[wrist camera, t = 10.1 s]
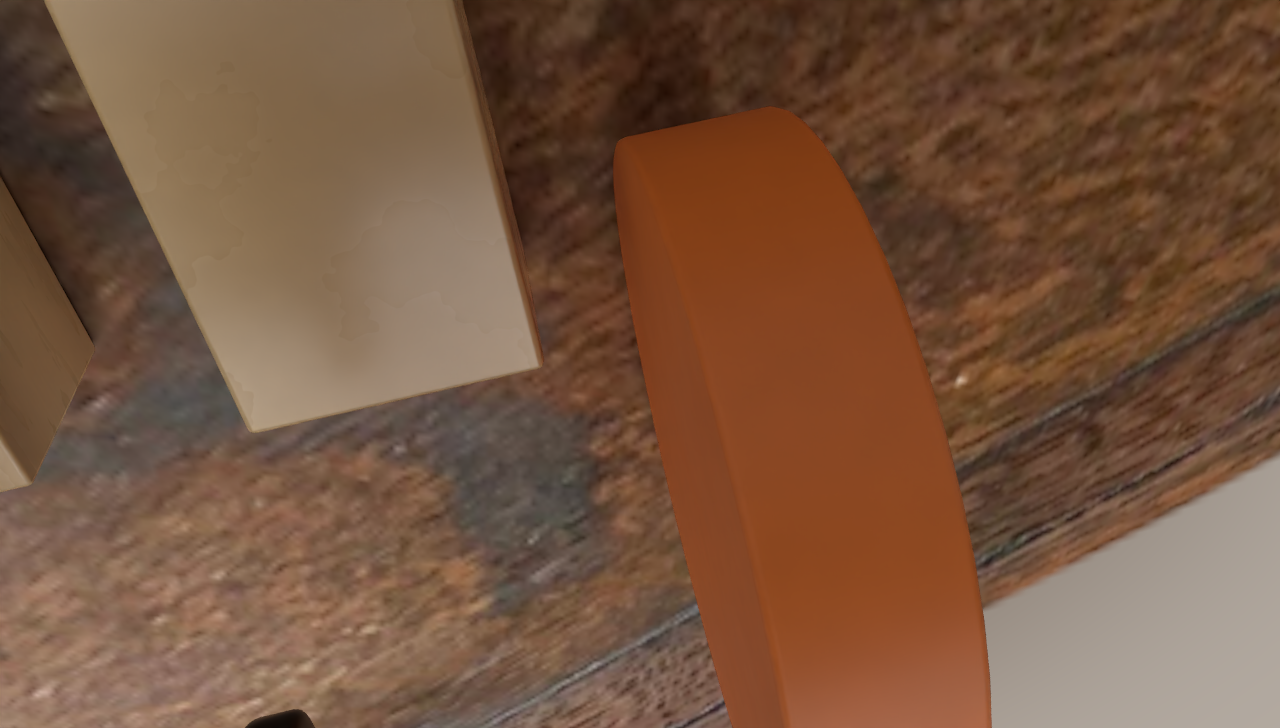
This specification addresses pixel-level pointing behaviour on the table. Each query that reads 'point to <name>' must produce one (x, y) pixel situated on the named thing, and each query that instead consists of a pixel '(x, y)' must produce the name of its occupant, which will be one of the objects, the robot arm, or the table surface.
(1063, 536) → the table surface
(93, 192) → the table surface
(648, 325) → the disc
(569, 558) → the table surface
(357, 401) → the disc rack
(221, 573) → the table surface
